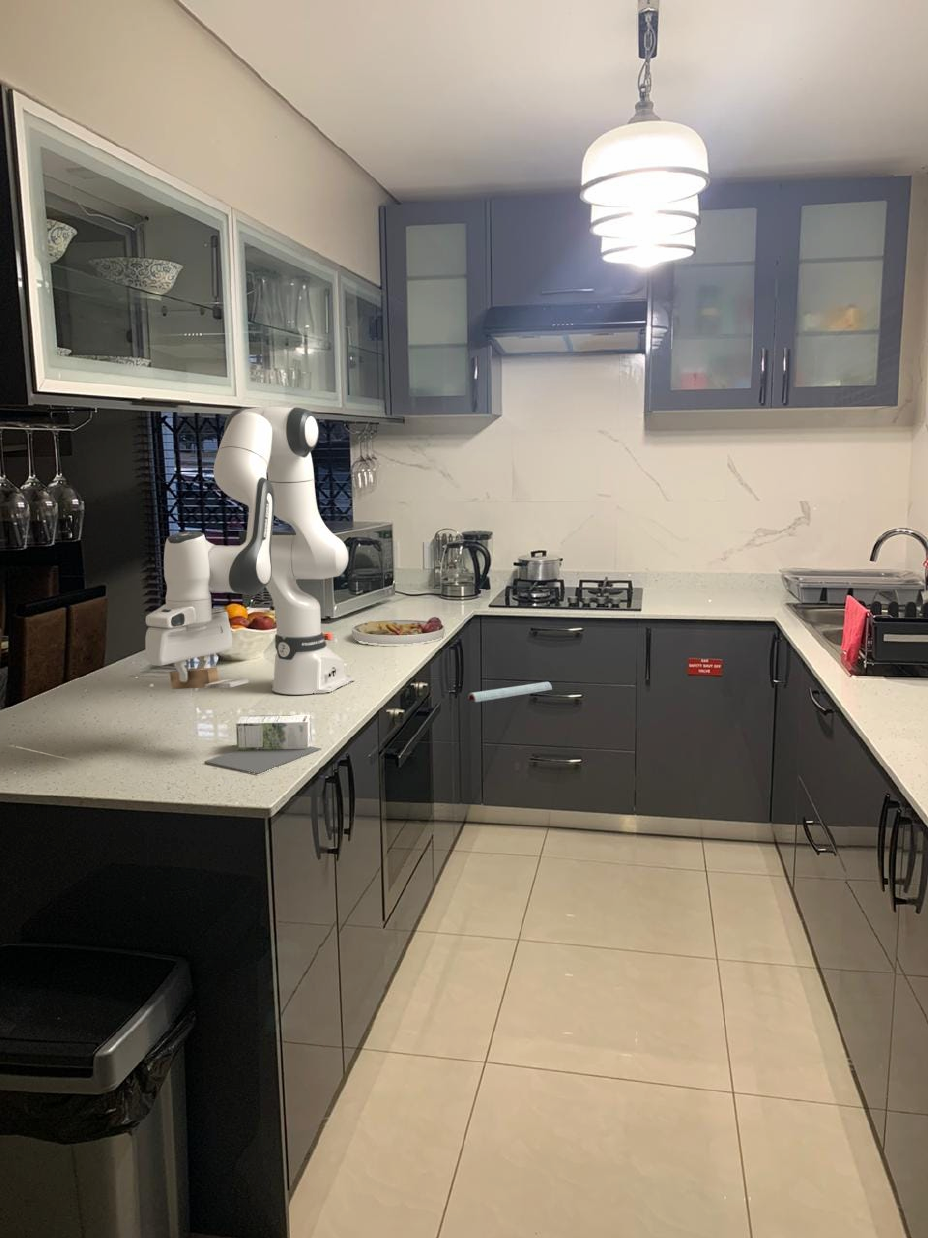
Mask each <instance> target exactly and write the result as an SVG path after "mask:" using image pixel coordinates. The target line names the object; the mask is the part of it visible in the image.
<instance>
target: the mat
mask: <svg viewBox="0 0 928 1238" xmlns="http://www.w3.org/2000/svg"><path fill="white" fill-rule="evenodd" d="M321 750H322V748H320V747H317V746H316V747H315V746H311V745H310V747H309V748H308V749H272V750H237V749H235V750H231V751H229V752H227V753H224V754H221V755H219V756H216V757H213V758H210V759H206V760H205V761H204V765H209V766H212V767H213V766H214V767H218V768H221V769H227V770H232V771H236V770H237V771H236V772H241V771H244V772H243V773H245V772H250V773H255V774H260V773H262V772H265V771H267V770H269V769H272V768H274V767H277V768H279V766H280V767H281V765H282V766H284V765H286V764H287V765H288V764H289V763H293V762H294V761H297V760H299V759H301V757H302V758H304V757H306V756H310V755H312V754H313V753H316V752H319V751H321ZM272 770H273V769H272ZM267 772H268V771H267ZM250 773H249V774H250ZM265 773H266V772H265ZM255 774H254V775H255ZM262 774H263V773H262ZM260 775H261V774H260Z"/></svg>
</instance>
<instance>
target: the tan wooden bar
mask: <svg viewBox="0 0 928 1238" xmlns="http://www.w3.org/2000/svg"><path fill="white" fill-rule="evenodd" d="M186 670H187V672H191V680H190V681H187V682H181V681H180V677H179V672H178V671H177V669H176V670H173V671H170V672H169V676H170V683H171V689H172V690H180V689H202V688H203V689H204V688H205V689H224V688H228V689H229V688H233V687H237V686H241V685H244V684H249V678H235V679H233V678H231V679H221V680H219V675H218V669H217V667H215V666H214V667H206V668H200V669H197V668H186Z"/></svg>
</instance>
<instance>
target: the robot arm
mask: <svg viewBox="0 0 928 1238" xmlns="http://www.w3.org/2000/svg"><path fill="white" fill-rule="evenodd" d="M223 427H224V432H223V437H222V439H221V441H220V444H219V447H218V449H217V453H216V458H215V459H214V464H213V478H214V481H215V483H216V485H217V486H218V488H219V489H220V490H221V491H222V492H223V493H224V494H226V495H227V496H228V497H230V498H232V500H235V501H237V502H238V503H239V502H240V503H242V504H243V505H246V506H248V519H247V529H246V530H247V531H246V538H245V541H244V542H243V543H242V544H240V545H239V546H238V545H233V546H232V545H220V544H219V545H216V544H215V543H212V542H210V541H209V540H207V539H206V537H205V534H204V533H203V532H201V531H196V530H186V531H180V532H176V533H172V534H171V535H170V536H168V537H167V538H166V540H165V544H164V553H163V571H164V572H163V575H164V580H165V583H166V588H167V589H166V595H165V604H163V605H161V606H160V607H158V608H157V609H155V610H153V611H152V612H150V613H149V614H147V615H146V616H145V625H147V626H148V628H147V630H146V633H145V637H144V638H145V645H144V646H145V647H144V648H145V658H146V661H147V662H148V663H149V664H150V665H153V666H158V667H162V666H165V665H170V664H171V665H172V664H173V666H174V668H175V669H176V670H177V671H178V672H179V677H180V681H181V682H187V681H190V680H191V672H187V670H186V669H187V668H186V666H187V661H188V660H192V659H193V660H194V659H197V660H198V664H197V667H196V669H200V668H208V667H207V666H208V664H209V662H210V655H214V654H218V653H222V652H228V651H230V650H231V649H232V647H233V644H234V643H233V641H234V640H233V634H232V628H231V624H230V620H229V612H228V611H227V610H226V609H225V608H223V607H222V606H221V607H216V608H212V594H211V592H220V593H236V594H241V595H246V596H247V595H248V596H256V595H258V594H260V592H262V591H263V590H264V589H265V588H266V590H267V591H268V593H269V595H270V598H271V600H272V602H273V606H274V615H275V623H276V634H275V636H274V637H275V638H274V647H275V650H276V654H275V655H274V656H275V657H274V671H273V673H274V674H273V680H272V681H271V686H272V688H271V690H272V691H273V692H274V693H276V694H277V693H278V694H283V695H310V694H311V695H313V693H314V694H326V693H325V692H330V691H332V692H334V691H333V690H335V689H336V688H338V687H340V686H342V685H344V684H346V683H348V682H349V681H351V680H353V679H354V678H355V676H352V675H349V674H346V666H345V661H344V659H343V657H340V656H339V655H338V654H337V653H336V652H334V651H333V650H332V649H330V648H329V647H328V646H327V642H326V641H328V642H329V641H332V640H333V637H334V636H333V634H332V632H322V620H321V616H322V615H321V605H320V602H319V601H318V600H317V599H316V597H314V596H313V595H312V594H309V593H308V592H305V591H303V590H301V588H300V587H299V585H298V583H297V580H326V579H330V578H336V577H340V576H341V575H343V573H344V572H345V570H346V569H347V566H348V563H349V550H348V548H347V546H346V544H345V543H344V542H343V540H342V539H341V538H339V537H338V536H337V535H335V534H334V533H333V532H332V531H331V530H330V529H329V528H328V527H327V526H326V523H324V520H323V519H322V517H321V515H320V511H319V509H318V502H317V496H316V495H317V494H316V488H315V487H316V486H315V485H316V484H315V472H314V471H315V470H314V462H313V457H312V453H311V452H313V450H315V448H316V446H317V443H318V442H319V435H320V430H319V423H318V420H317V418H316V417H315V415H314V414H313V412H311V411H310V410H309V409H306V408H302V407H285V406H276V405H275V406H265V407H264V406H263V407H254V408H249V407H243V408H242V407H241V408H238V409H235V410H233V411H231V413H230V414H229V415H228V416H227V417H226V420H225V422H224V426H223ZM275 517H276V518H277V519H279V520H280V521H282V522H285V523H286V524H288V525H290V526H291V527H292V529H293V530H294V532H295V534H281V535H280V534H277V535H276V534H273V532H274V530H273V528H274V518H275ZM335 691H336V690H335ZM330 693H331V692H330Z"/></svg>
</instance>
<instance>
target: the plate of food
mask: <svg viewBox="0 0 928 1238" xmlns="http://www.w3.org/2000/svg"><path fill="white" fill-rule="evenodd" d="M445 631H446V627H445V625H444V624H443V623H442V620H441V619H440V618H439V617H436V616H434V617H433V616H432V617H430V618H429V619H428V620H419V619H414V620H413V619H388V620H387V619H386V620H385V619H384V620H376V621H375V620H373V621H372V620H370V621H366V622H363V623H362V622H361V623H359V624H356V625H353V626H352V627H351V635H352V638H353V640H355V639H356V640H358V641H363V642H368V643H377V644H413V643H421V642H427V641H432V640H436V639H439V638H441V637H443V638H444V636H445Z"/></svg>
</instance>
